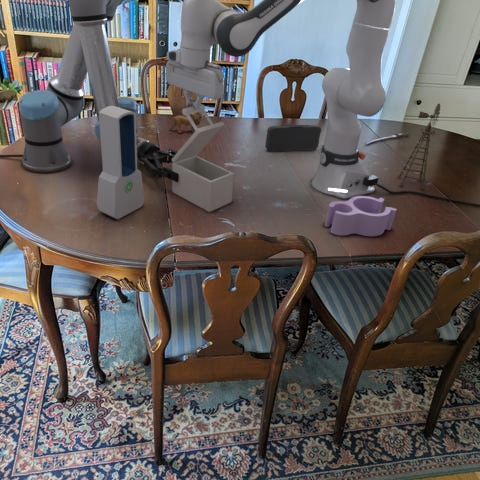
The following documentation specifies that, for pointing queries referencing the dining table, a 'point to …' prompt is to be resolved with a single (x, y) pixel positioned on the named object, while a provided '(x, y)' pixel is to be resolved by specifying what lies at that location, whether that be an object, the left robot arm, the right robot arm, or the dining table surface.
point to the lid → (197, 135)
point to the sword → (385, 138)
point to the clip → (359, 216)
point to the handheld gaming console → (292, 137)
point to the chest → (203, 183)
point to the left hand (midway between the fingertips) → (190, 173)
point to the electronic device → (119, 164)
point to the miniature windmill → (428, 131)
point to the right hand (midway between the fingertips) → (193, 107)
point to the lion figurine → (187, 121)
